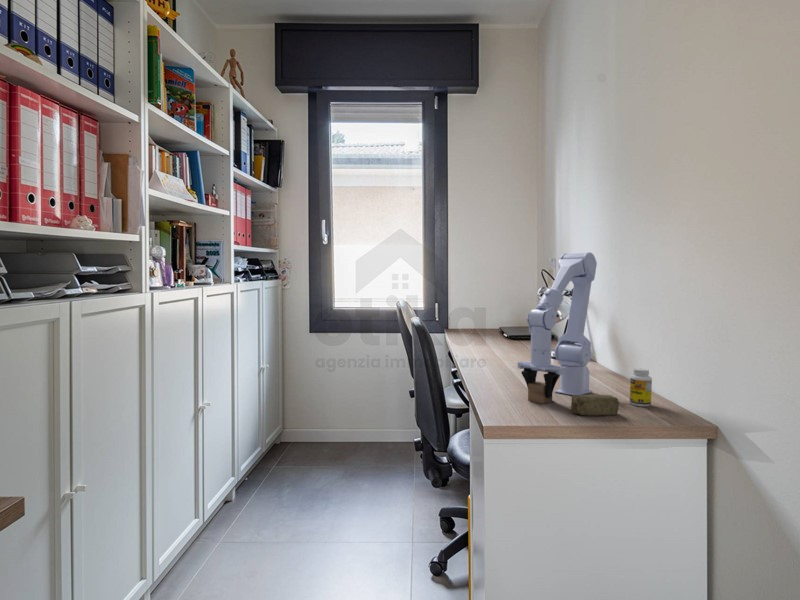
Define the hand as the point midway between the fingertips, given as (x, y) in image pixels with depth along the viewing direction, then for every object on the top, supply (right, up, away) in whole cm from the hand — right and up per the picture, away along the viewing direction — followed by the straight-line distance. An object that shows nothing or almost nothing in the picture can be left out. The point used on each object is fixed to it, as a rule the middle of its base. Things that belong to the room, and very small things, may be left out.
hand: (540, 395), depth 150 cm
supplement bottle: (+27, -2, -4) cm, 28 cm away
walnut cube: (0, -1, 0) cm, 1 cm away
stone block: (+10, -2, -14) cm, 18 cm away
